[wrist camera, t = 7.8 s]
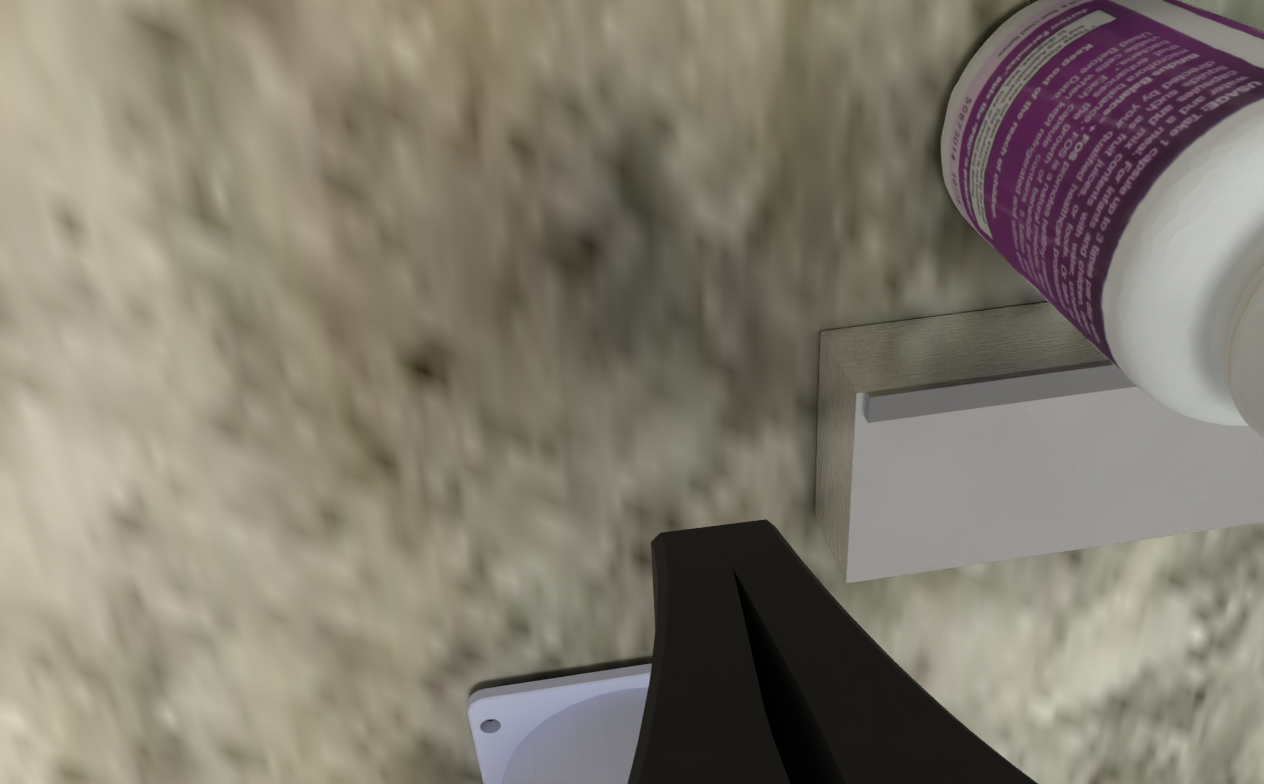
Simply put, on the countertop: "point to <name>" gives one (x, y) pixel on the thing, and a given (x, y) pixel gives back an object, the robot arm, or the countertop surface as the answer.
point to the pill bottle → (1127, 186)
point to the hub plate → (1007, 447)
